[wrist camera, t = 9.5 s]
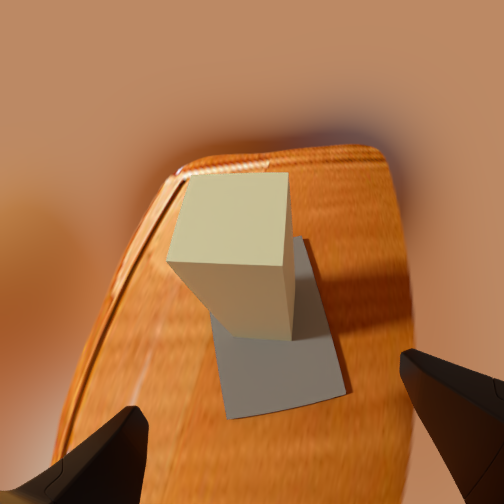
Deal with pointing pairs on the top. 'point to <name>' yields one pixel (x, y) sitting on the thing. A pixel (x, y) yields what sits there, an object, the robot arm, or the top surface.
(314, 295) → the mat
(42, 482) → the robot arm
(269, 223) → the block
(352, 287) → the top surface
